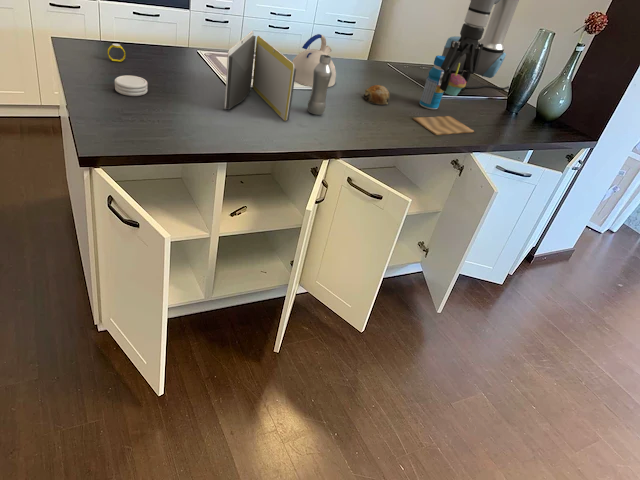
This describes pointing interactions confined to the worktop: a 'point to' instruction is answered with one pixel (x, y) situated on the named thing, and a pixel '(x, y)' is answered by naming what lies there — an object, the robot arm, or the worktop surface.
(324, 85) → the plastic bottle
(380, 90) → the bread roll
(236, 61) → the grey folded panel
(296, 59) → the kettle
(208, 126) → the worktop surface
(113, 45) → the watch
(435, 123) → the light brown flat board
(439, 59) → the beverage bottle
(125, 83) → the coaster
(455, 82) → the cupcake
